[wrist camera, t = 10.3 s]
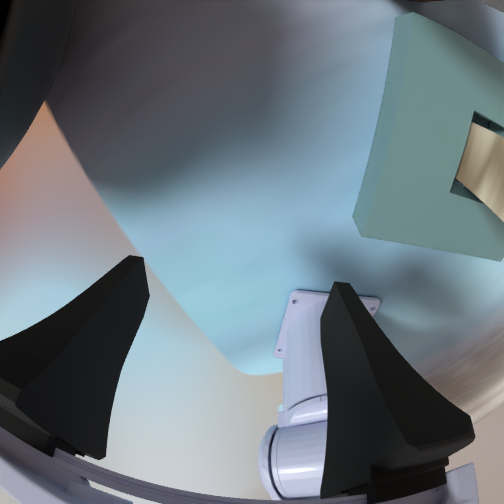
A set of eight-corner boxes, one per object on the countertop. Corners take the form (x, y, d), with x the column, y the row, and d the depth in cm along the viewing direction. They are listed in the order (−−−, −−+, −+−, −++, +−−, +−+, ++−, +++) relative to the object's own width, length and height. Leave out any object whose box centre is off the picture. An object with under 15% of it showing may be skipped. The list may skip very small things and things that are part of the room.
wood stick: (466, 176, 16) (541, 248, 9) (443, 168, 16) (521, 241, 9) (481, 127, 14) (570, 181, 6) (457, 116, 14) (552, 166, 6)
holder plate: (487, 244, 19) (500, 261, 17) (352, 216, 19) (361, 236, 17) (535, 100, 11) (556, 108, 9) (395, 17, 11) (413, 11, 9)
